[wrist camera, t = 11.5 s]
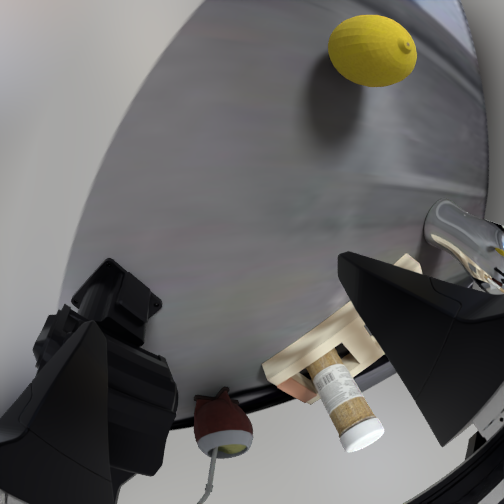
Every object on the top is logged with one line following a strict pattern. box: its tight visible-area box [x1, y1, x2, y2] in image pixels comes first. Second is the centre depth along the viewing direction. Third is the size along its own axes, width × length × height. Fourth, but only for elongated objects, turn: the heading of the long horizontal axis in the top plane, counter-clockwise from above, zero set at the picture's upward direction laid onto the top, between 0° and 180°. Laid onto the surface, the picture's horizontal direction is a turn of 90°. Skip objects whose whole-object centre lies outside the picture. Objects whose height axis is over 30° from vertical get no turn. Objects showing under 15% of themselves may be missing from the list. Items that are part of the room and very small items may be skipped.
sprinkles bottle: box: [306, 348, 385, 452], centre depth 27 cm, size 5×5×14 cm
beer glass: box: [424, 198, 504, 294], centre depth 21 cm, size 7×7×15 cm
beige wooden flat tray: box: [262, 253, 422, 405], centre depth 31 cm, size 21×11×3 cm, turn 127°
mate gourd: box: [194, 387, 253, 504], centre depth 26 cm, size 8×8×15 cm
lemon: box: [328, 15, 417, 87], centre depth 14 cm, size 6×6×8 cm
